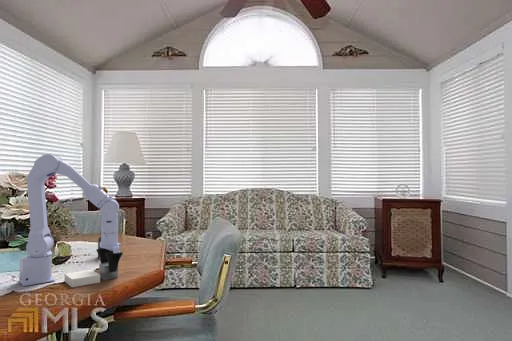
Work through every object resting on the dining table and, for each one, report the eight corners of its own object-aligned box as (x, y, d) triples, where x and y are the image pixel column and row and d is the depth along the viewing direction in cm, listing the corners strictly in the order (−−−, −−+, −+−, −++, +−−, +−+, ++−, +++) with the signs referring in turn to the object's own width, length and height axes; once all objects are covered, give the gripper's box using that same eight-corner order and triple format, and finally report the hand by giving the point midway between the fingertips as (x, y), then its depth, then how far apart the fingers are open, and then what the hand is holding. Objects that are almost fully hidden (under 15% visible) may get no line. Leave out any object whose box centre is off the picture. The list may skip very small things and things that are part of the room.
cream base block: (71, 288, 117) (72, 279, 117) (64, 282, 124) (64, 273, 124) (100, 283, 123) (100, 274, 123) (91, 277, 130) (91, 269, 130)
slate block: (103, 280, 126) (104, 266, 126) (99, 277, 130) (99, 263, 130) (118, 277, 129) (118, 263, 129) (112, 274, 133) (113, 261, 133)
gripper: (128, 233, 127) (127, 271, 127) (113, 229, 138) (112, 264, 138) (108, 235, 122) (107, 275, 122) (94, 230, 133) (93, 267, 133)
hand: (108, 269), depth 129 cm, fingers open, 7 cm apart
